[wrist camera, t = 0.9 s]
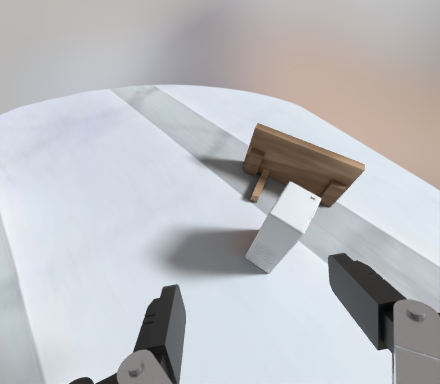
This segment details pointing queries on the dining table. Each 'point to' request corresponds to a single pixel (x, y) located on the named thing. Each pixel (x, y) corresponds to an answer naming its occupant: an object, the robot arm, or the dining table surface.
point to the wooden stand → (299, 165)
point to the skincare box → (283, 227)
